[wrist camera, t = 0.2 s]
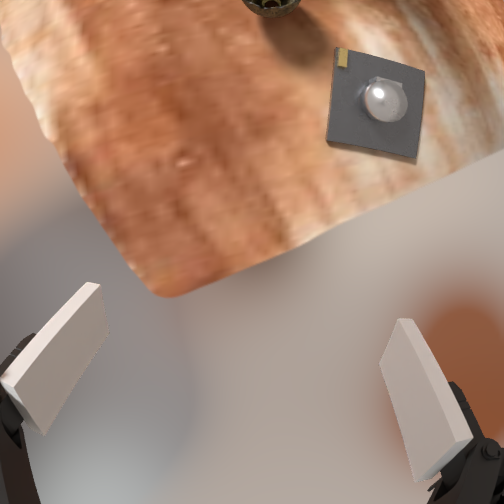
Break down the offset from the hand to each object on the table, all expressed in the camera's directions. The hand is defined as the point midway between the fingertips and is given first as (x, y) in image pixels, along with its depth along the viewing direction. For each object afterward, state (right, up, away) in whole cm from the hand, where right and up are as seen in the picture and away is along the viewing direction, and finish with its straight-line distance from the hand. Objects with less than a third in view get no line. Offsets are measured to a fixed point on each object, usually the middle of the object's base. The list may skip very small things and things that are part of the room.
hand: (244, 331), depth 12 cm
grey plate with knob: (+16, +22, +19) cm, 33 cm away
